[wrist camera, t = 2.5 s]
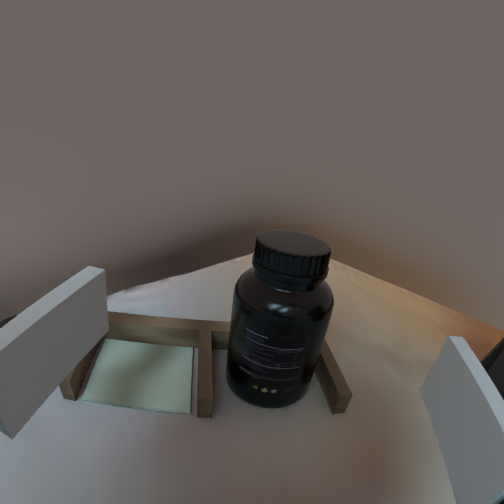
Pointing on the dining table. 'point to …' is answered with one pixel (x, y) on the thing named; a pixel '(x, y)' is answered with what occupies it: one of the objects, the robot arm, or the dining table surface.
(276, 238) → the supplement bottle
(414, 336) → the dining table surface
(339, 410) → the notch rail
